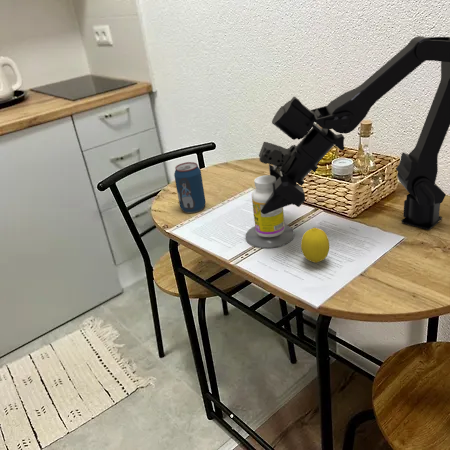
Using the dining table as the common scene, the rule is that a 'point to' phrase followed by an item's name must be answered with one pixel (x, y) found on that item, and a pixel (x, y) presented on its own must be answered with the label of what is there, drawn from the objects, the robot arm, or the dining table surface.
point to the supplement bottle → (264, 223)
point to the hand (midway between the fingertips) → (261, 205)
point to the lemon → (315, 245)
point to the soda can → (189, 187)
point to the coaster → (269, 238)
